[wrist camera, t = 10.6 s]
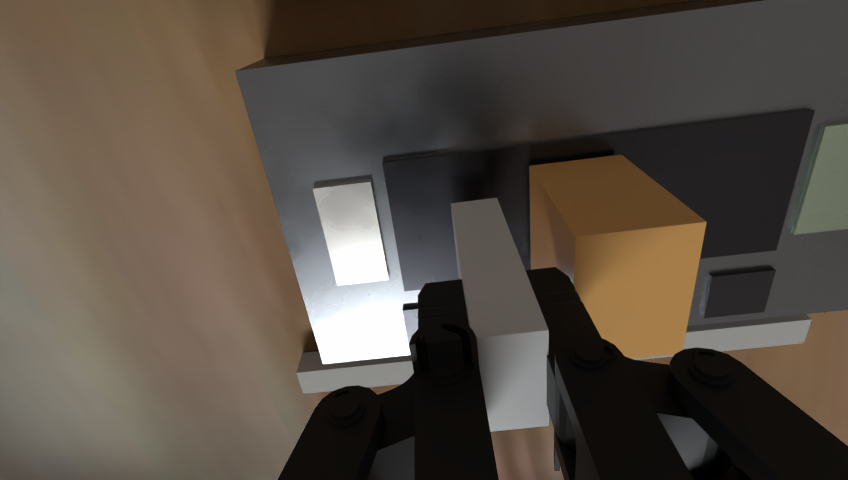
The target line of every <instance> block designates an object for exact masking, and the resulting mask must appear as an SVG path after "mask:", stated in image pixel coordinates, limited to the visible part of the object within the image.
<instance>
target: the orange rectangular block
mask: <svg viewBox="0 0 848 480" xmlns="http://www.w3.org/2000/svg"><path fill="white" fill-rule="evenodd" d="M529 182H530V250H531V270H533V269H541V268H550V267H556V268H558V269H559V270H560V271H562V272H563V273H565V274H566V275H567V276H569V278H570V280H571V282H572V283H573V285H574V287H575V291H577V293H578V295H579V297H580V298H581V301H582V302H583V304H584V306H585V308H586V310H587V311H588V313H589V315H590V317H591V319H592V321H593V323H594V325H595V326H596V328H597V330H598V332H599V334H600V336H601V338H602V339H605V340H607V341H609V342H610V343H612V344H614V345H616V347H617V348H618V349H619V350H620V351H621V352H622V353H623V355H624V356H625V357H628V358H631V359H632V358H642V357H652V356H661V355H671V354H676V353H678V352H680V351H682V350H683V346H684V340H685V335H686V330H687V324H688V319H689V314H690V308H691V303H692V298H693V292H694V287H695V282H696V276H697V271H698V266H699V260H700V255H701V250H702V244H703V239H704V234H705V228H706V223H707V222H706V221H705V220H704V219H703V218H701V217H700V216H699V215H697V214H696V213H695V212H694V211H692V210H691V209H690V208H689V207H687V206H686V205H685V204H684V203H682V202H681V201H680V200H678V199H677V198H676V197H675V196H673V195H672V194H671V193H670V192H668V191H667V190H666V189H664V188H663V187H662V186H661V185H659V184H658V183H657V182H656V181H654V180H653V179H652V178H651V177H649V176H648V175H647V174H645V173H644V172H643V171H642V170H640V169H639V168H638V167H637V166H635V165H634V164H633V163H632V162H630V161H629V160H628V159H626V158H625V157H624V156H623V155H614V156H606V157H598V158H589V159H581V160H573V161H565V162H556V163H548V164H540V165H532V166H529Z"/></svg>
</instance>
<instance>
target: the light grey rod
mask: <svg viewBox="0 0 848 480" xmlns="http://www.w3.org/2000/svg"><path fill="white" fill-rule="evenodd" d="M811 321H812V319H811V318H810V317H808V316H807V315H806V314H800V315H790V316H781V317H771V318H762V319H752V320H742V321H733V322H723V323H714V324H704V325H694V326H687V330H686V335H685V340H684V346H683V349H689V348H696V347H698V348H707V349H713V350H716V351H719V352H720V351H730V350H740V349H749V348H759V347H769V346H779V345H789V344H799V343H804V341H805V338H806V335H807V332H808V329H809V327H810V324H811ZM671 356H674V354H671V355H661V356H652V357H642V358H632V359H634V360H641V359H651V358H661V357H671ZM413 373H414V370H413V365H412V359H411V355H407V356H397V357H388V358H378V359H368V360H359V361H349V362H340V363H330V364H323V362H322V359H321V356H320V352H319V351H315V352H305V353H302V357H301V360H300V363H299V366H298V369H297V376H298V379H299V382H300V385H301V388H302V391H303V394H306V393H316V392H326V391H334V390H337V389H340V388H343V387H345V386H356V385H359V386H363V387H375V386H385V385H395V384H403V383H404V382H406V381H407V380H408V379H409V378H410V377H411V376H412V375H413Z"/></svg>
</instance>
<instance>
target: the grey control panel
mask: <svg viewBox="0 0 848 480" xmlns="http://www.w3.org/2000/svg"><path fill="white" fill-rule="evenodd" d="M235 73H236V76H237V79H238V82H239V86H240V89H241V92H242V96H243V99H244V102H245V106H246V109H247V112H248V116H249V119H250V122H251V126H252V129H253V132H254V136H255V139H256V142H257V146H258V149H259V152H260V156H261V159H262V162H263V166H264V169H265V172H266V176H267V179H268V182H269V186H270V189H271V192H272V196H273V199H274V202H275V206H276V209H277V212H278V216H279V219H280V222H281V226H282V229H283V232H284V236H285V239H286V242H287V246H288V249H289V252H290V256H291V259H292V262H293V266H294V269H295V272H296V276H297V279H298V282H299V286H300V289H301V292H302V296H303V299H304V302H305V306H306V309H307V312H308V316H309V319H310V322H311V326H312V329H313V332H314V336H315V339H316V342H317V346H318V349H319V352H320V356H321V359H322V362H323V364H330V363H340V362H349V361H359V360H368V359H378V358H388V357H397V356H407V355H411V354H410V349H409V343H410V339H411V336H412V335H413V334H414V333H415V332H416V331H417V330H418V294H419V292H420V291H421V289H422V288H423V286H424V285H425V283H432V282H440V281H449V280H458V279H459V275H458V266H457V257H456V248H455V239H454V229H453V220H452V211H451V203H458V202H466V201H474V200H482V199H490V198H497V199H498V202H499V205H500V207H501V210H502V212H503V215H504V217H505V220H506V222H507V225H508V228H509V230H510V233H511V235H512V238H513V240H514V243H515V245H516V248H517V250H518V253H519V256H520V258H521V261H522V263H523V266H524V268H525V270H531V250H530V182H529V166H532V165H540V164H548V163H556V162H565V161H573V160H581V159H589V158H598V157H606V156H614V155H623V156H624V157H625V158H626V159H628V160H629V161H630V162H632V163H633V164H634V165H635V166H637V167H638V168H639V169H640V170H642V171H643V172H644V173H645V174H647V175H648V176H649V177H651V178H652V179H653V180H654V181H656V182H657V183H658V184H659V185H661V186H662V187H663V188H664V189H666V190H667V191H668V192H670V193H671V194H672V195H673V196H675V197H676V198H677V199H678V200H680V201H681V202H682V203H684V204H685V205H686V206H687V207H689V208H690V209H691V210H692V211H694V212H695V213H696V214H697V215H699V216H700V217H701V218H703V219H704V220H705V221H706V222H707V223H706V228H705V234H704V239H703V244H702V250H701V255H700V260H699V266H698V271H697V276H696V282H695V287H694V292H693V298H692V303H691V308H690V314H689V319H688V324H687V326H694V325H704V324H714V323H723V322H733V321H742V320H752V319H762V318H771V317H781V316H790V315H800V314H810V313H819V312H829V311H838V310H848V0H696V1H689V2H682V3H674V4H667V5H659V6H652V7H644V8H637V9H629V10H622V11H615V12H607V13H600V14H592V15H585V16H577V17H570V18H563V19H555V20H548V21H540V22H533V23H525V24H518V25H510V26H503V27H496V28H488V29H481V30H473V31H466V32H458V33H451V34H444V35H436V36H429V37H421V38H414V39H406V40H399V41H391V42H384V43H377V44H369V45H362V46H354V47H347V48H339V49H332V50H325V51H317V52H310V53H302V54H295V55H287V56H280V57H273V58H265V59H262V60H259V61H257V62H255V63H253V64H250V65H248V66H246V67H243V68H241V69H239V70H237V71H235Z"/></svg>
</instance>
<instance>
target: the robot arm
mask: <svg viewBox="0 0 848 480" xmlns="http://www.w3.org/2000/svg"><path fill="white" fill-rule="evenodd" d="M451 211H452V220H453V229H454V239H455V248H456V257H457V266H458V275H459V279H458V280H449V281H440V282H432V283H425V285H424V286H423V288H422V289H421V291H420V292H419V294H418V330H417V331H416V332H415V333H414V334H413V335H412V336H411V339H410V343H409V349H410V354H411V359H412V365H413V370H414V373H413V375H412V376H411V377H410V378H409V379H408V380H407V381H406V382H404V383H403V384H402V385H400V386H398V387H396V388H394V389H392V390H389V391H387V392H384V393H381V394H379V395H377V394H376V393H375V392H373V391H372V390H371V389H370V388H366V387H363V386H359V385H356V386H345V387H343V388H340V389H337V390H334V391H333V392H331V393H330V394H328V395H327V396H326V397H324V398H323V399H322V400H321V401H320V403H319V404H318V405H317V407H316V408H315V410H314V412H313V413H312V415H311V417H310V419H309V421H308V423H307V425H306V427H305V429H304V431H303V432H302V434H301V436H300V438H299V440H298V442H297V444H296V446H295V448H294V450H293V452H292V453H291V455H290V457H289V459H288V461H287V463H286V465H285V467H284V469H283V471H282V472H281V474H280V476H279V478H278V480H498V474H497V468H496V462H495V456H494V450H493V445H492V439H491V433H490V432H491V431H501V430H511V429H521V428H531V427H541V426H549V413H550V417H551V420H552V423H553V426H554V469H555V471H560V467H561V470H562V473H563V477H564V480H848V446H847V445H846V444H844V443H843V442H842V441H841V440H839V439H838V438H837V437H835V436H834V435H833V434H832V433H830V432H829V431H828V430H827V429H825V428H824V427H823V426H821V425H820V424H819V423H818V422H816V421H815V420H814V419H813V418H811V417H810V416H809V415H807V414H806V413H805V412H804V411H802V410H801V409H800V408H799V407H797V406H796V405H795V404H793V403H792V402H791V401H790V400H788V399H787V398H786V397H785V396H783V395H782V394H781V393H779V392H778V391H777V390H776V389H774V388H773V387H772V386H770V385H769V384H768V383H767V382H765V381H764V380H763V379H762V378H760V377H759V376H758V375H756V374H755V373H754V372H753V371H751V370H750V369H749V368H748V367H746V366H745V365H744V364H742V363H741V362H740V361H738V360H736V359H735V358H733V357H731V356H730V355H728V354H725V353H722V352H719V351H716V350H713V349H707V348H698V347H696V348H689V349H683V350H682V351H680V352H678V353H676V354H674V356H673V358H672V360H671V361H670V365H667V364H659V363H651V362H644V361H639V360H634V359H631V358H628V357H625V356H624V355H623V353H622V352H621V351H620V350H619V349H618V348H617V347H616V345H614V344H612V343H610V342H609V341H607V340H605V339H602V338H601V336H600V334H599V332H598V330H597V328H596V326H595V325H594V323H593V321H592V319H591V317H590V315H589V313H588V311H587V310H586V308H585V306H584V304H583V302H582V301H581V298H580V297H579V295H578V293H577V291H575V287H574V285H573V283H572V282H571V280H570V278H569V276H567V275H566V274H565V273H563V272H562V271H560V270H559V269H558V268H556V267H550V268H541V269H533V270H525V268H524V266H523V263H522V261H521V258H520V256H519V253H518V250H517V248H516V245H515V243H514V240H513V238H512V235H511V233H510V230H509V228H508V225H507V222H506V220H505V217H504V215H503V212H502V210H501V207H500V205H499V202H498V199H497V198H490V199H482V200H474V201H466V202H458V203H451Z"/></svg>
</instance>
